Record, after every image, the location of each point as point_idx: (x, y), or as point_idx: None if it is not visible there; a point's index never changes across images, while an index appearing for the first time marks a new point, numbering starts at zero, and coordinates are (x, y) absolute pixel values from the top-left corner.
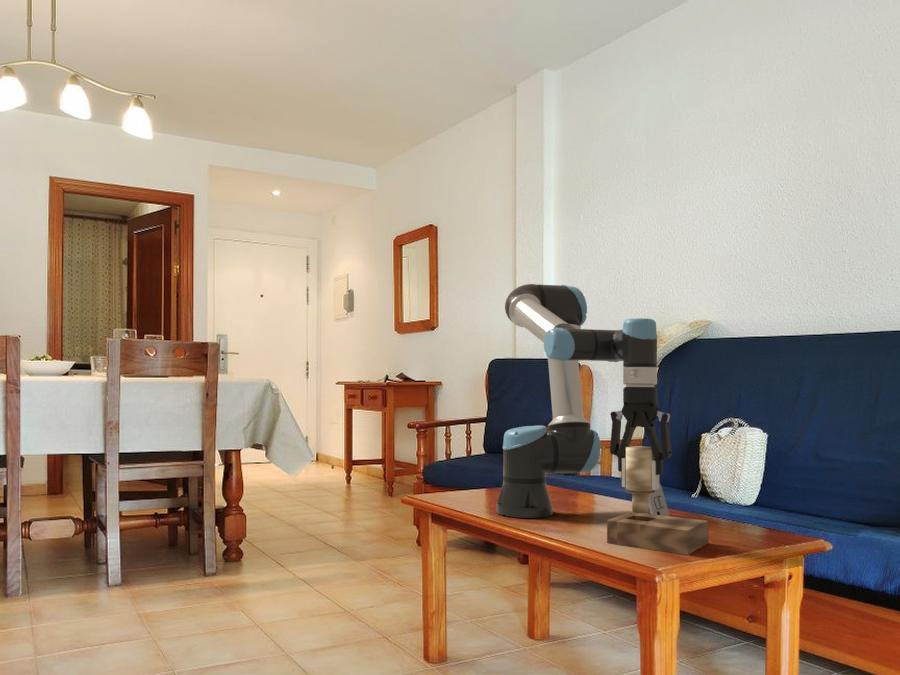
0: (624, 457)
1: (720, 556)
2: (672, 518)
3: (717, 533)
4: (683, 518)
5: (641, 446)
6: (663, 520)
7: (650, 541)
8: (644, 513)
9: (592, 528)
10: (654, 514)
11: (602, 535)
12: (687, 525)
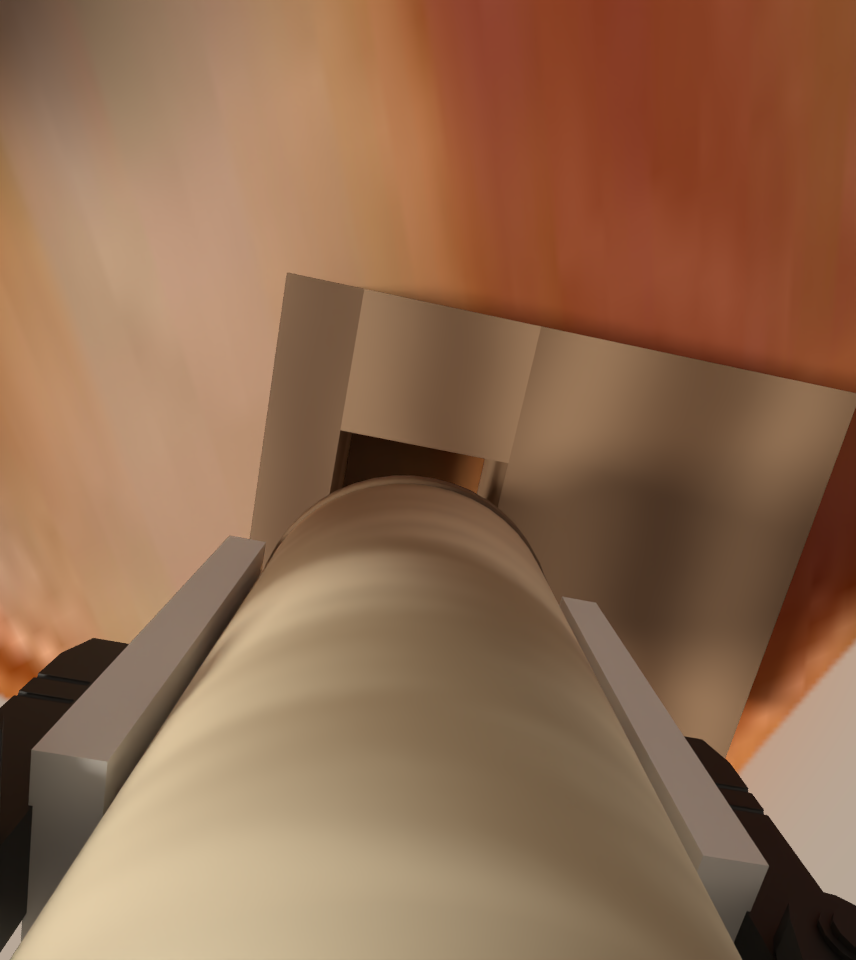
0: (24, 854)
1: (810, 648)
2: (615, 425)
3: (843, 2)
4: (690, 385)
5: (316, 934)
6: (563, 529)
7: None
8: (396, 310)
9: (49, 253)
10: (473, 315)
11: (180, 442)
12: (719, 625)
